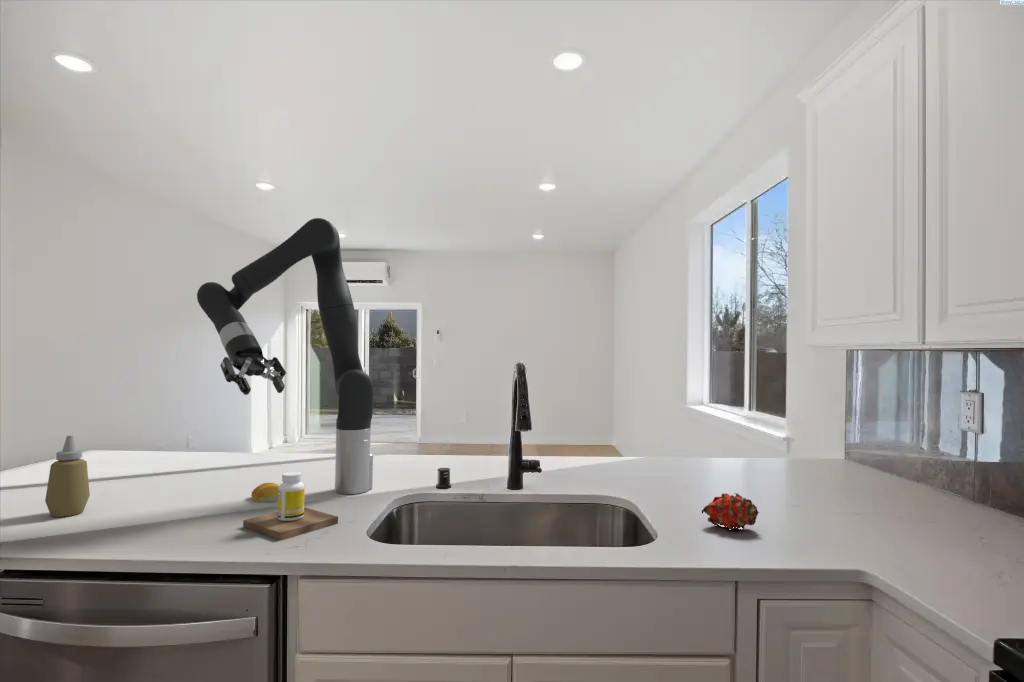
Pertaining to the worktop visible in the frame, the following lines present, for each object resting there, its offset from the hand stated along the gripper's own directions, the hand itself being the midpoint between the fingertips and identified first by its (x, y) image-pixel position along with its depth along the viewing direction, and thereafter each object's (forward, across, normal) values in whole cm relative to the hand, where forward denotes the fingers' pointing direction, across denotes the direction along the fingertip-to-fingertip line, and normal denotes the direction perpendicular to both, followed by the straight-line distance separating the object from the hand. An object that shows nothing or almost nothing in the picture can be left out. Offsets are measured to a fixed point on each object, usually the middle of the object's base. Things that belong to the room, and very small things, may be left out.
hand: (265, 391), depth 132 cm
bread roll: (+14, +8, +28) cm, 32 cm away
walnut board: (+31, -2, +10) cm, 32 cm away
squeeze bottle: (-3, -28, +44) cm, 52 cm away
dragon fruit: (+87, +55, -46) cm, 112 cm away
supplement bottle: (+30, -2, +9) cm, 31 cm away
